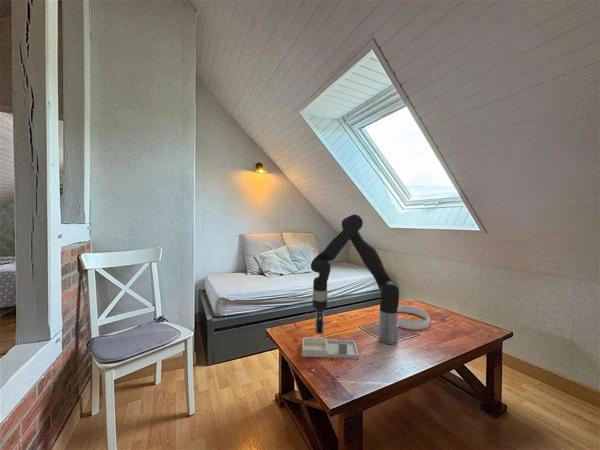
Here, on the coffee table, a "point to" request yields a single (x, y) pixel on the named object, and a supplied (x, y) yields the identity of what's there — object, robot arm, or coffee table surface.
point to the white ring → (409, 323)
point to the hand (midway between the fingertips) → (319, 330)
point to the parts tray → (333, 349)
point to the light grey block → (342, 347)
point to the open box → (314, 347)
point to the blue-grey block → (316, 328)
